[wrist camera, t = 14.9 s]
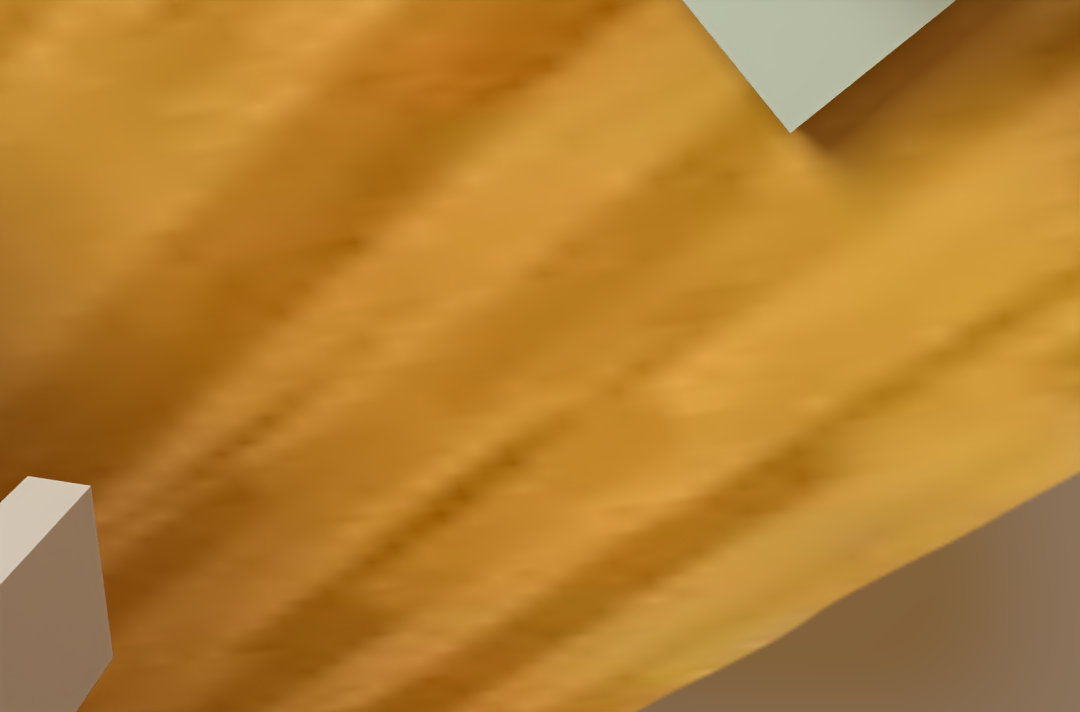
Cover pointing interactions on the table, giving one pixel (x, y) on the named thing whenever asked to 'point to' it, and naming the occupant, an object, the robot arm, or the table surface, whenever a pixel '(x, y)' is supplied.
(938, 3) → the seat board
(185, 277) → the table surface
